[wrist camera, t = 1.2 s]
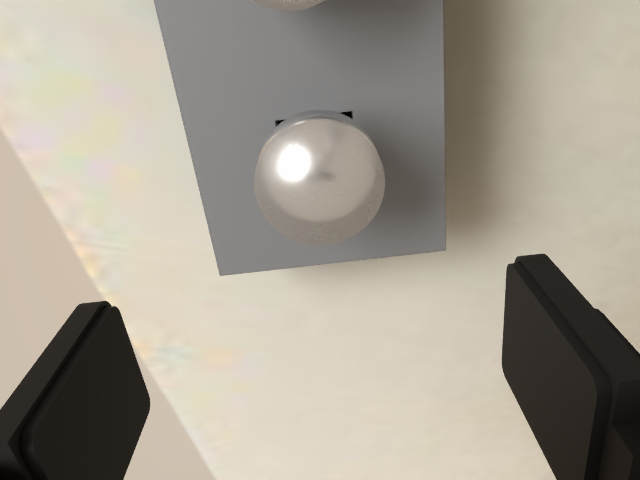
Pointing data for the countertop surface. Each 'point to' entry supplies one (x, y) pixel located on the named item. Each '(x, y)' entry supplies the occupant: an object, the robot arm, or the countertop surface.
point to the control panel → (311, 94)
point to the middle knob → (287, 4)
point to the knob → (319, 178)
